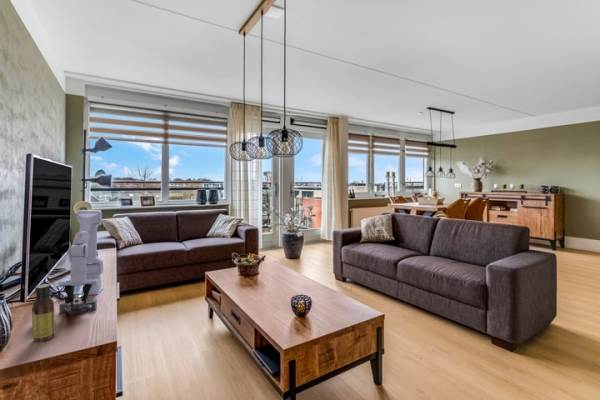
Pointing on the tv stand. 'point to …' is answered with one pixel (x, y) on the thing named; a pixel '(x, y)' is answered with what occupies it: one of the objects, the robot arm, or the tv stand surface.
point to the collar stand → (77, 307)
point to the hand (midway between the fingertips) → (78, 301)
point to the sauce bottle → (43, 314)
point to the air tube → (78, 301)
